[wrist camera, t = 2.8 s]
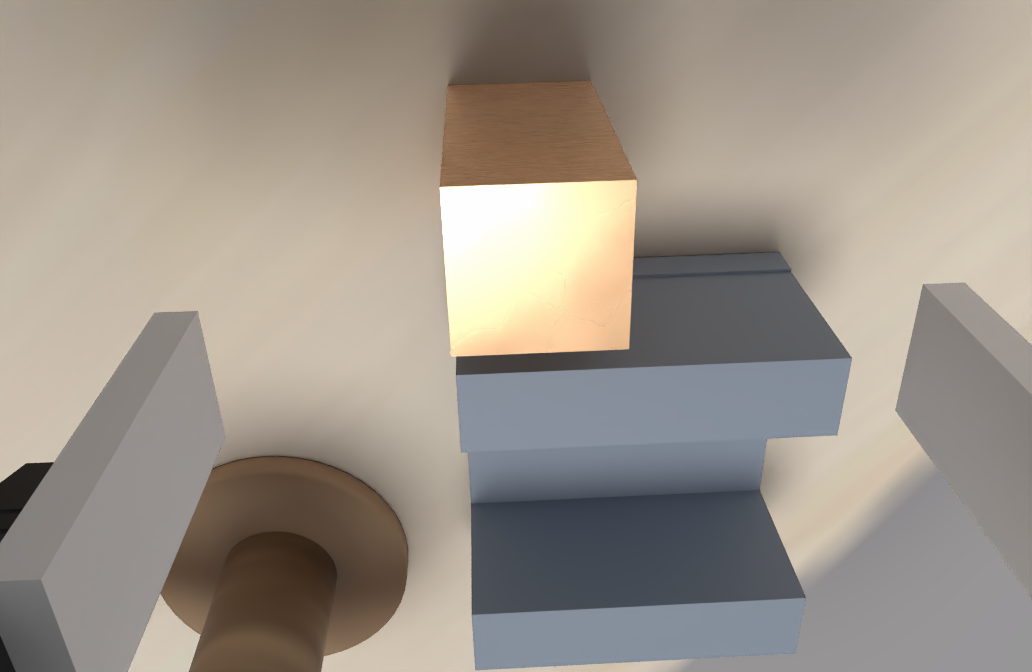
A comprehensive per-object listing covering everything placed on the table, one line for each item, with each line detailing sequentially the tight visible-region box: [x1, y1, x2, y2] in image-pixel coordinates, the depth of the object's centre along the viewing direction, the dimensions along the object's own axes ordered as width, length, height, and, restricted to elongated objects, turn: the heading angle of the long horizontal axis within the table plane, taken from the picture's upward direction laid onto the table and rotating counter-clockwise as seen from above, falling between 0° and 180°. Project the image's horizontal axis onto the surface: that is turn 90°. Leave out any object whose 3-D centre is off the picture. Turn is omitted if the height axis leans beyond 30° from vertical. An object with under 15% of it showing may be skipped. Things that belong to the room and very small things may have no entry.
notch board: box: [456, 252, 852, 670], centre depth 28 cm, size 11×10×6 cm
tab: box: [440, 81, 637, 357], centre depth 23 cm, size 4×4×8 cm
